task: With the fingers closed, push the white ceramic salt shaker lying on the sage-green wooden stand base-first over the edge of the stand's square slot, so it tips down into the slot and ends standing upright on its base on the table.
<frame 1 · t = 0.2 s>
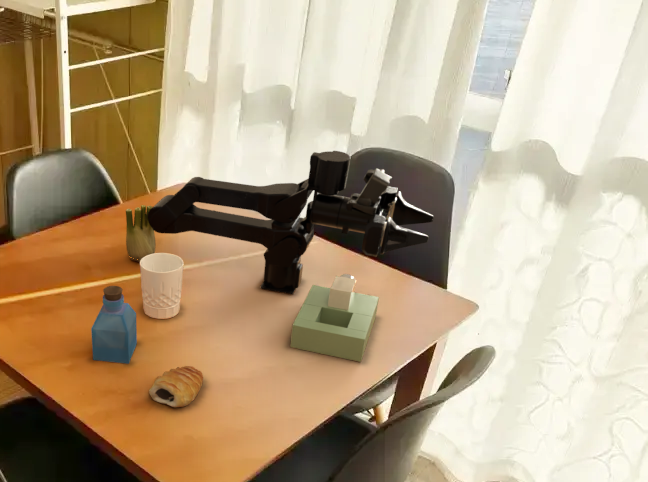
hand: (430, 228, 130), 16 cm above the table, tool horizontal, fingers open, 9 cm apart
pastry: (176, 394, 117), on the table
stand: (331, 339, 130), on the table
shaker: (337, 308, 130), point 4 cm above the table, touching stand
perfume bottle: (115, 352, 128), on the table
white cup: (161, 311, 139), on the table
fennel bulb: (141, 260, 158), on the table
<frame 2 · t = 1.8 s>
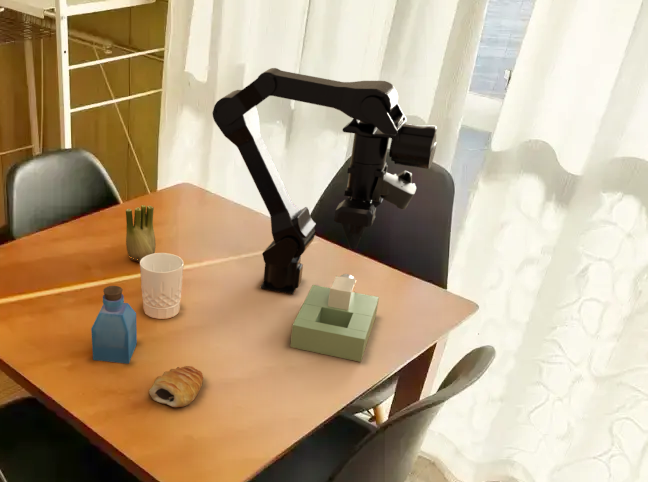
hand: (355, 242, 136), 12 cm above the table, tool pointing down, fingers open, 5 cm apart
nothing on the table moved.
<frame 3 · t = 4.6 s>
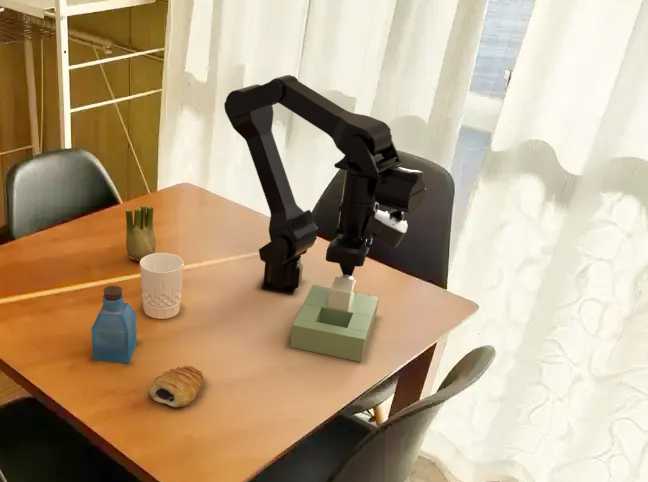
hand: (347, 278, 135), 7 cm above the table, tool pointing down, fingers closed
shaker: (337, 309, 130), point 4 cm above the table, touching gripper, stand
everything else where it was.
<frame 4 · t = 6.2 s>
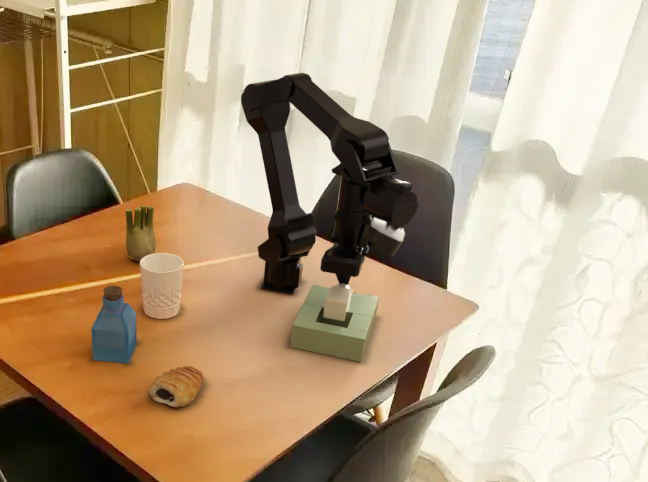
hand: (343, 287, 132), 7 cm above the table, tool pointing down, fingers closed
shaker: (333, 319, 127), point 4 cm above the table, touching gripper, stand
everything else where it was.
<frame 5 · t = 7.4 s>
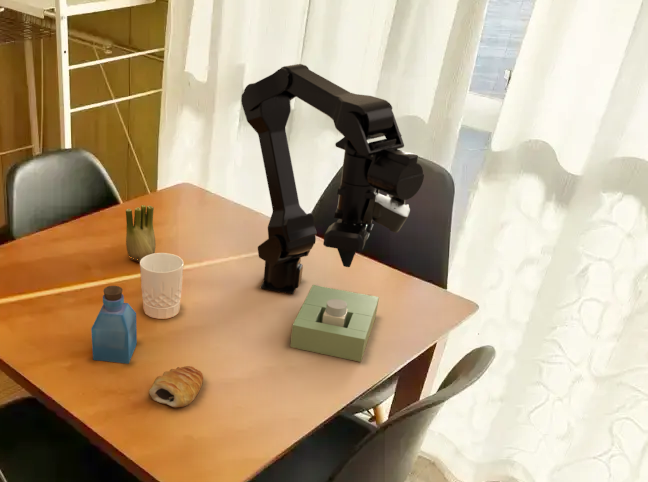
hand: (347, 266, 129), 11 cm above the table, tool pointing down, fingers closed
shaker: (334, 332, 132), resting in stand, tilted 90°
everything else where it was.
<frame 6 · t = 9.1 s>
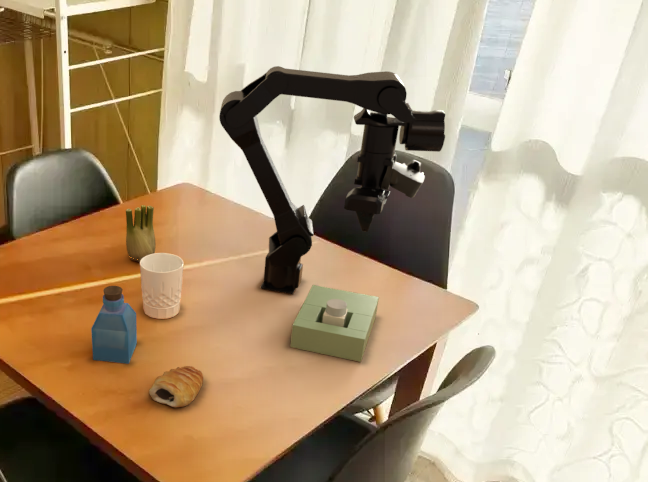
hand: (365, 230, 139), 13 cm above the table, tool pointing down, fingers closed
nothing on the table moved.
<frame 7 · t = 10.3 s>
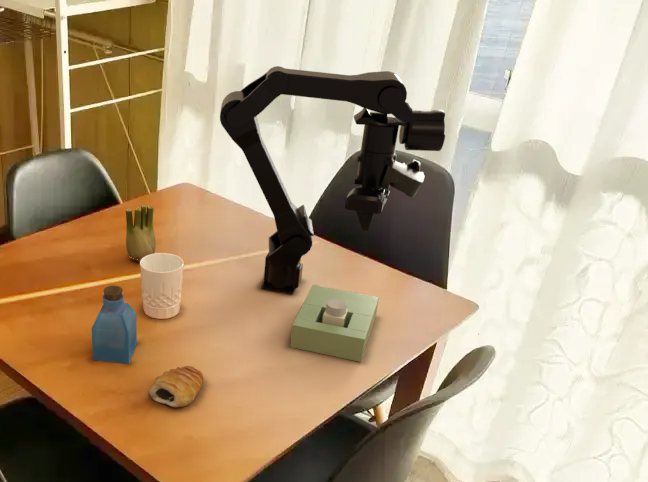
hand: (365, 230, 139), 12 cm above the table, tool pointing down, fingers closed
nothing on the table moved.
at the end: shaker 2.4 cm off-centre on the stand, point 0.0 cm above the stand's base; shaker tilted 90°; shaker touching table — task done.
